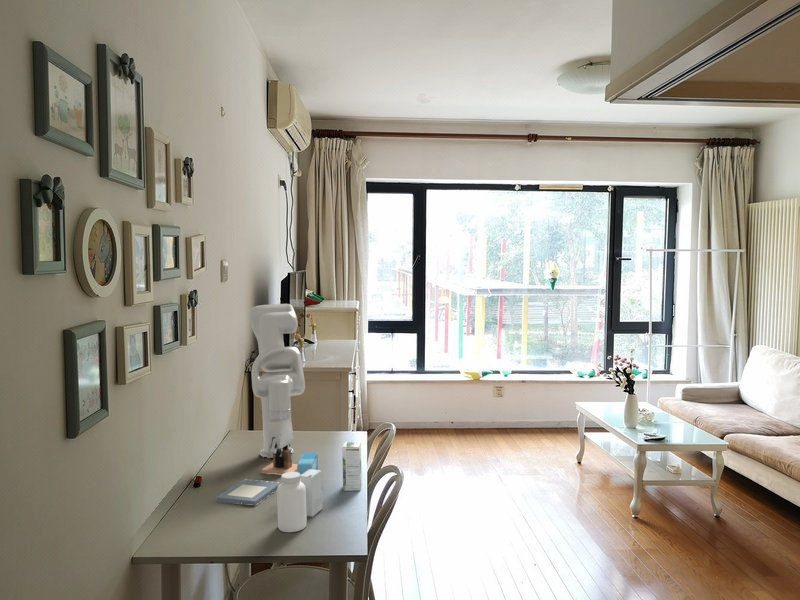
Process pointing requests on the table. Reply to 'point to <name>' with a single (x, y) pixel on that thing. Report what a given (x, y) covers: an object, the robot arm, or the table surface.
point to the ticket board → (248, 492)
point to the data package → (307, 462)
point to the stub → (287, 464)
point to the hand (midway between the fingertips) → (282, 465)
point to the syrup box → (352, 466)
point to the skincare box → (312, 491)
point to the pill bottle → (291, 503)
